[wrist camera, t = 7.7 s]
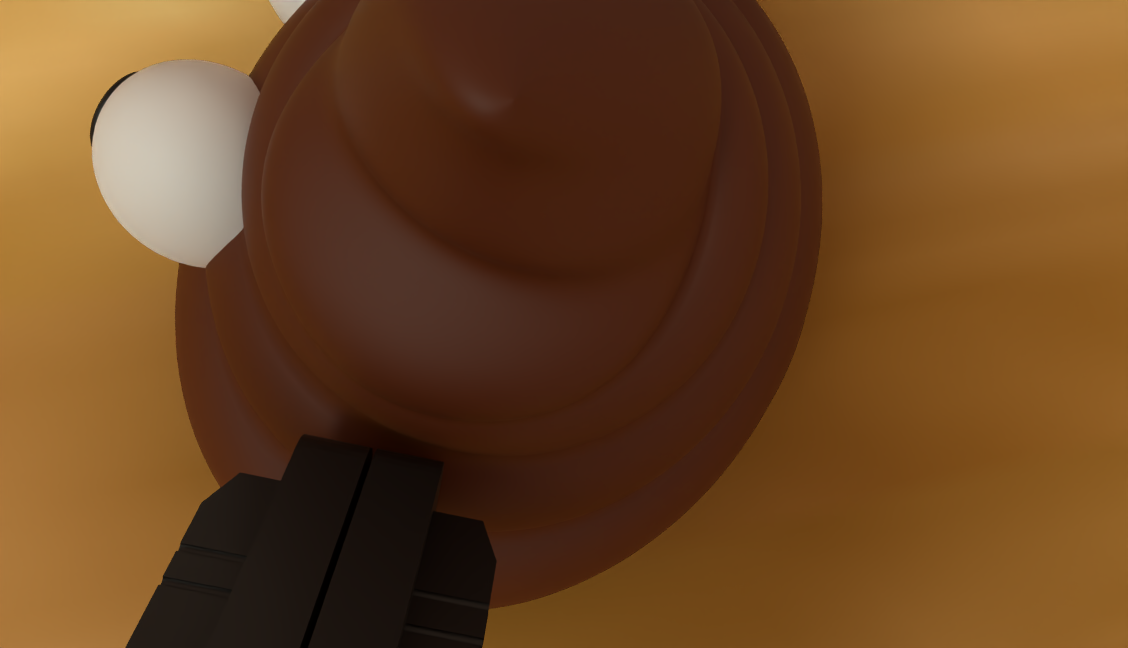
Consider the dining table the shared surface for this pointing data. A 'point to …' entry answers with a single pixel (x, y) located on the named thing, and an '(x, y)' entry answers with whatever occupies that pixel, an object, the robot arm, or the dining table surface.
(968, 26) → the dining table surface
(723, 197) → the poop emoji
